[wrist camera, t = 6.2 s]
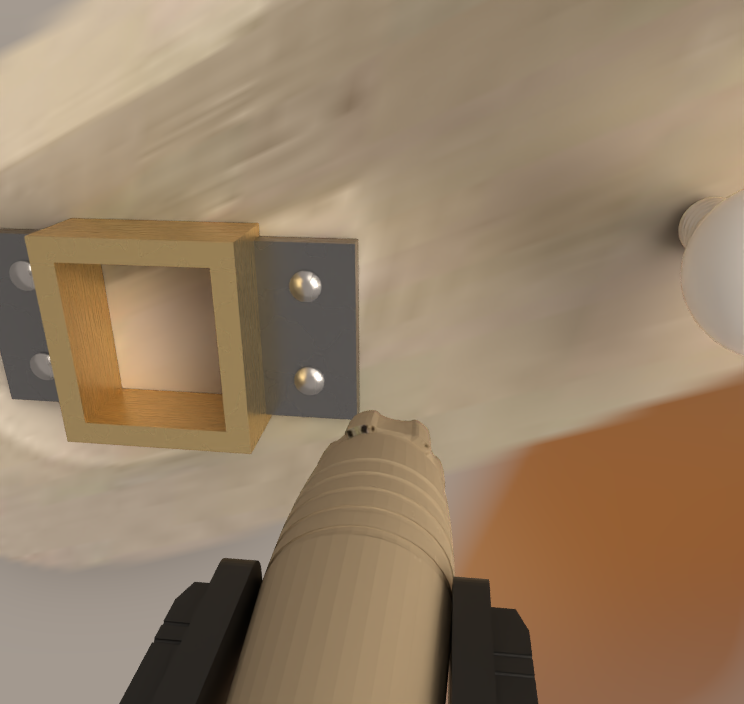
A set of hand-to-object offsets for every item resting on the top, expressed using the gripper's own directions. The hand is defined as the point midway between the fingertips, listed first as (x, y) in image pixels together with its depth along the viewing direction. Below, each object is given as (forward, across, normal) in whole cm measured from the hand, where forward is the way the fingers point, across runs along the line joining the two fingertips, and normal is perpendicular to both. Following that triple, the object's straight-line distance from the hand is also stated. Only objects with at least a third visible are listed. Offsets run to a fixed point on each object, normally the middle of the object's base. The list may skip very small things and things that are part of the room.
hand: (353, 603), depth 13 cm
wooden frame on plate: (+21, +13, +2) cm, 25 cm away
